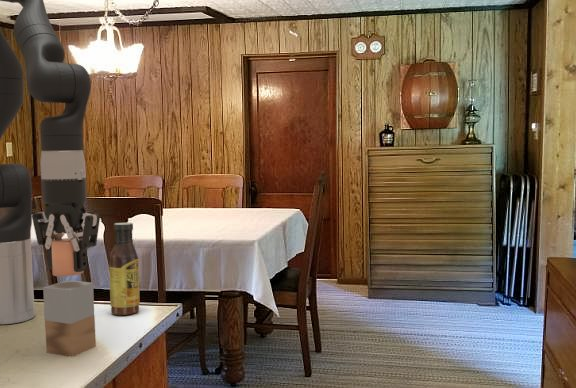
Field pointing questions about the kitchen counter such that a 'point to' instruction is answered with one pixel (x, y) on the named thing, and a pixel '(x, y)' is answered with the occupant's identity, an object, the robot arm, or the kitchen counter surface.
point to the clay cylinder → (63, 258)
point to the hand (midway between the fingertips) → (67, 269)
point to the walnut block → (70, 337)
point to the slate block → (68, 301)
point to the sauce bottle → (124, 272)
